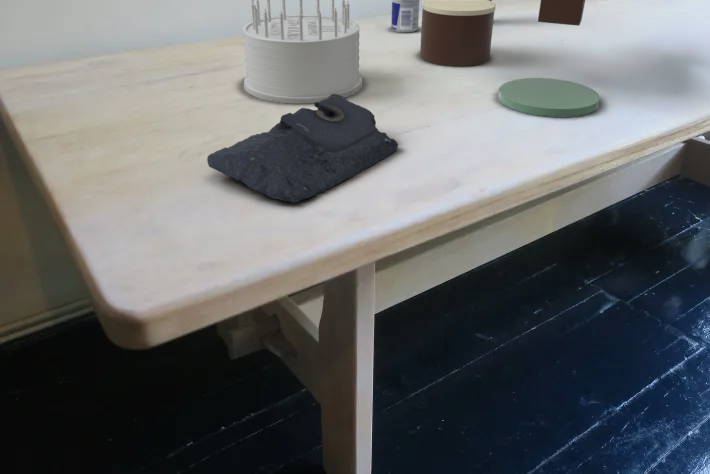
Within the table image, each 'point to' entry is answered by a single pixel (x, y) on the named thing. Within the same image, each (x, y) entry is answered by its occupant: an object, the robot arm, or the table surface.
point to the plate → (549, 97)
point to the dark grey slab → (307, 151)
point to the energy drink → (405, 15)
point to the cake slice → (561, 11)
